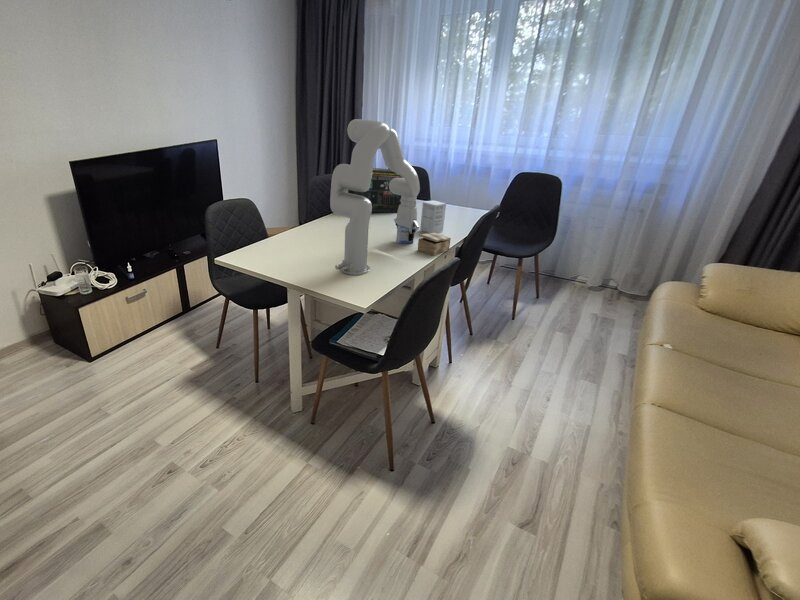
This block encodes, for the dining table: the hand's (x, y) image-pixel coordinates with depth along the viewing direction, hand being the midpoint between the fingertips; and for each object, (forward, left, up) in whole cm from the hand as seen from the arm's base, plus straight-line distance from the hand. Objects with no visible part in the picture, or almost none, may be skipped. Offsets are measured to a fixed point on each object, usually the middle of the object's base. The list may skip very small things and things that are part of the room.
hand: (405, 238), depth 207 cm
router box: (+30, +54, -2) cm, 62 cm away
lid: (+8, -17, +4) cm, 19 cm away
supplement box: (+25, +3, -2) cm, 25 cm away
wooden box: (+2, -17, -2) cm, 17 cm away
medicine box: (0, 0, -2) cm, 2 cm away
